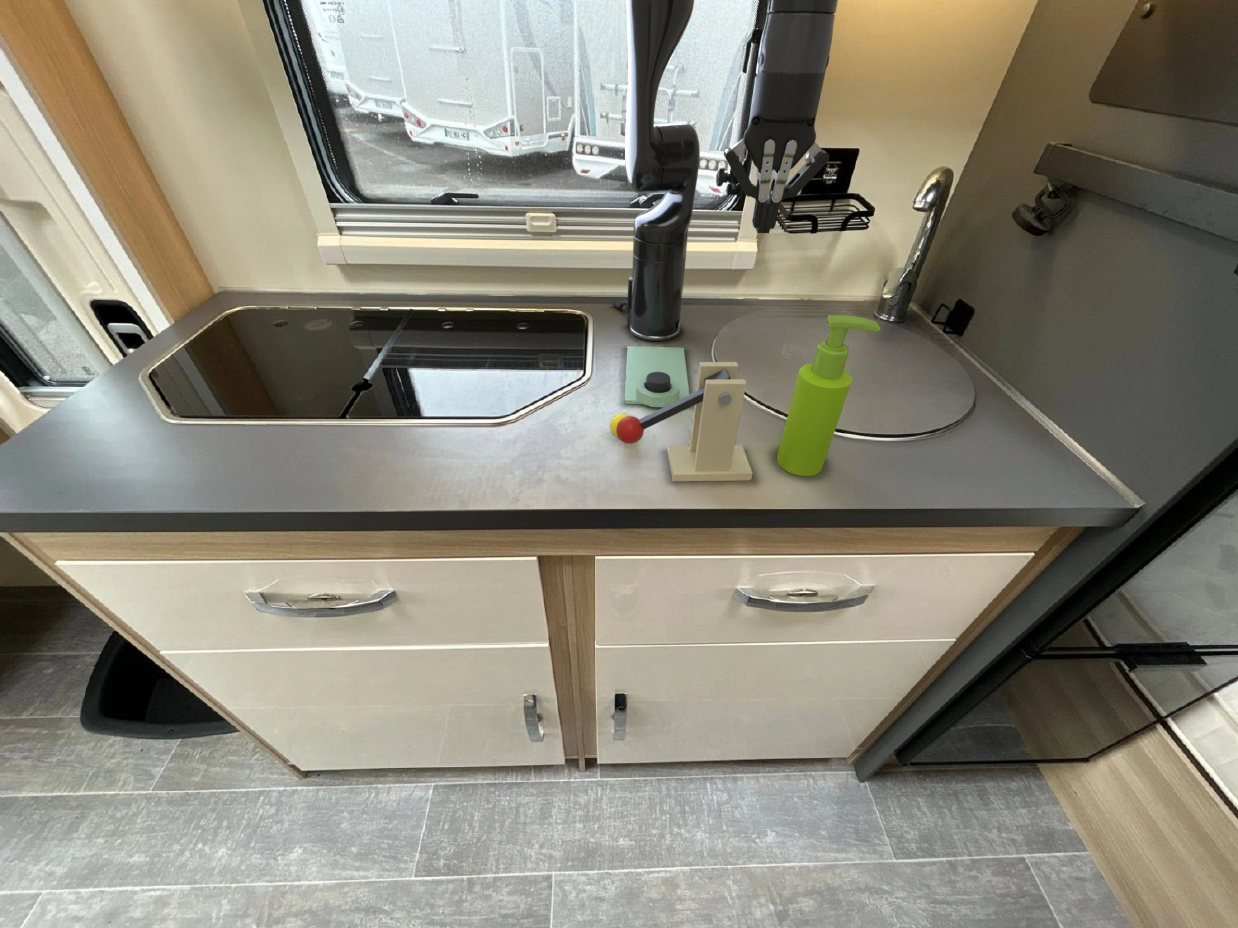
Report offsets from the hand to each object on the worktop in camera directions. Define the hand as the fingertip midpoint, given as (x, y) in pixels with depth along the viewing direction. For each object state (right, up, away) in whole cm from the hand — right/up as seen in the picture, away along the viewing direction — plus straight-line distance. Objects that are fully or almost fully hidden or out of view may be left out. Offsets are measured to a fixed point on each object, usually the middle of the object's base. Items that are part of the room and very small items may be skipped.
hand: (762, 231), depth 69 cm
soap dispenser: (+5, -31, 0) cm, 31 cm away
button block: (-13, -16, +17) cm, 27 cm away
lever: (-12, -25, -6) cm, 28 cm away
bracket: (-7, -31, -1) cm, 32 cm away
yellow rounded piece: (-18, -26, +5) cm, 32 cm away
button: (-13, -19, +10) cm, 25 cm away
